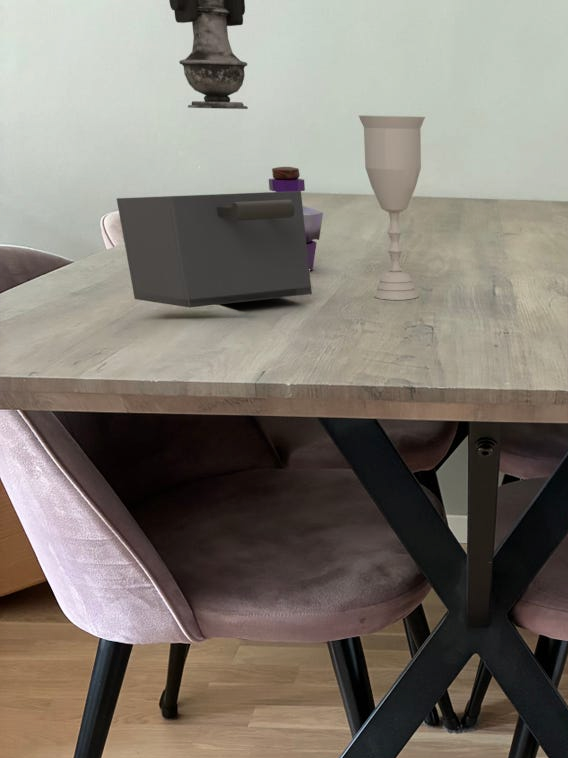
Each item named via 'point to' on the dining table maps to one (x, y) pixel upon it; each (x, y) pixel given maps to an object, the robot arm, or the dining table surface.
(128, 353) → the dining table surface
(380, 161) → the chalice
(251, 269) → the dark grey rectangular box
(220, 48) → the salt shaker
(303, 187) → the potion bottle
